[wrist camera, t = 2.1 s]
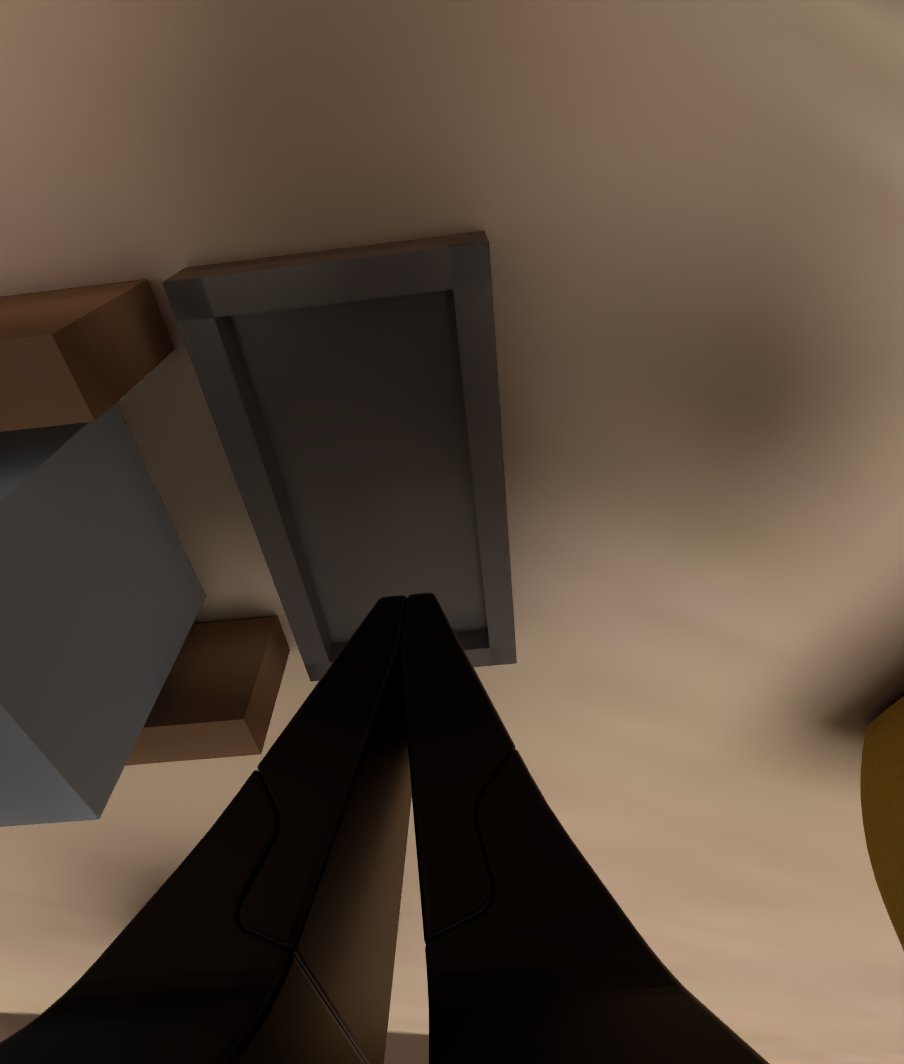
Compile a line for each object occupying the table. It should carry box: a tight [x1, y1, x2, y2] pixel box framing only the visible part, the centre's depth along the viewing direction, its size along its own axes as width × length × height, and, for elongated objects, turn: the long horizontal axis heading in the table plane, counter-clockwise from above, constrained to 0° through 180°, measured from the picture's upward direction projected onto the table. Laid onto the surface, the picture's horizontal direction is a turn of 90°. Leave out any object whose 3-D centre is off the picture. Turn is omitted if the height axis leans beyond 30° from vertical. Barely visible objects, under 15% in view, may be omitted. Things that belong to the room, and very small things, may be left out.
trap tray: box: [162, 231, 517, 681], centre depth 12 cm, size 9×5×1 cm, turn 6°
